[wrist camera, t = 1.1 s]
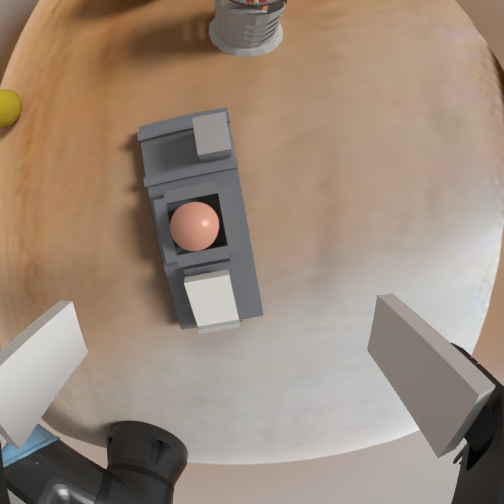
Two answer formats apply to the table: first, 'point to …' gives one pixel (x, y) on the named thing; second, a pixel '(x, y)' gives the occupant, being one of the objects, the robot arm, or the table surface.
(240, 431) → the table surface
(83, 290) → the table surface
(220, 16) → the french press
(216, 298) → the rocker switch
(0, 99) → the lemon
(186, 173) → the panel
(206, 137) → the slide switch
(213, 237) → the push button
